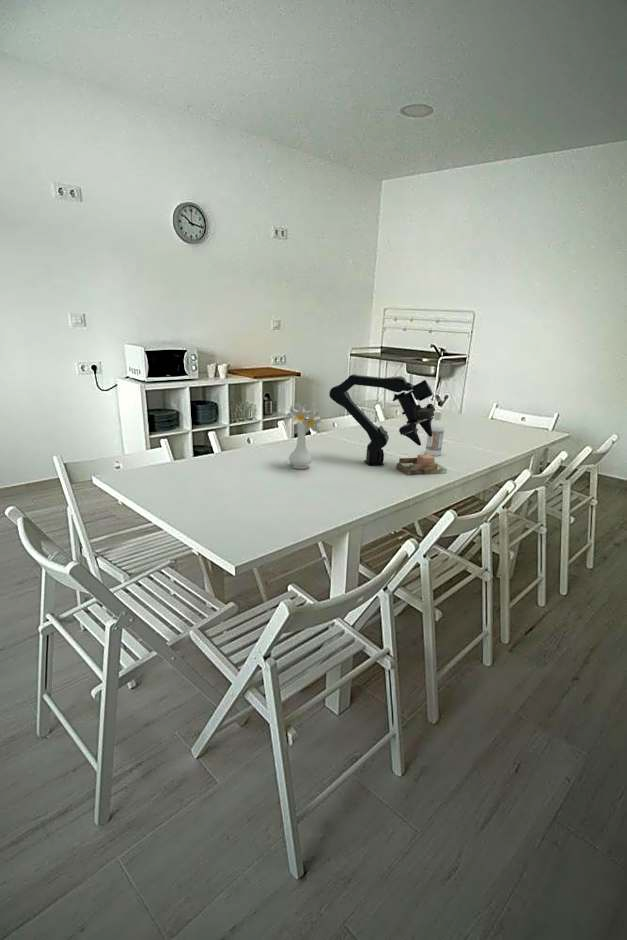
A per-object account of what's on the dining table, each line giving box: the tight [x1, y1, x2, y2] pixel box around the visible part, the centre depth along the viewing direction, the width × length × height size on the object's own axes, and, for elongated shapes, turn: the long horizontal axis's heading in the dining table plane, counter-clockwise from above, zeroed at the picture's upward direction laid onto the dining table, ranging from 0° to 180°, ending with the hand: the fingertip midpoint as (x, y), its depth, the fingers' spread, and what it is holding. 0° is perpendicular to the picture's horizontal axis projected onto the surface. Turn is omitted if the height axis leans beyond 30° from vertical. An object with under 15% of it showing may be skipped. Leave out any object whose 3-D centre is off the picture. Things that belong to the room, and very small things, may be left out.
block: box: [416, 453, 436, 464], centre depth 197 cm, size 5×5×4 cm
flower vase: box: [284, 402, 322, 470], centre depth 191 cm, size 13×18×25 cm
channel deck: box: [396, 457, 448, 476], centre depth 197 cm, size 18×10×4 cm, turn 107°
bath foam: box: [425, 410, 445, 457], centre depth 220 cm, size 7×7×20 cm
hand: (425, 440), depth 196 cm, fingers open, 9 cm apart
